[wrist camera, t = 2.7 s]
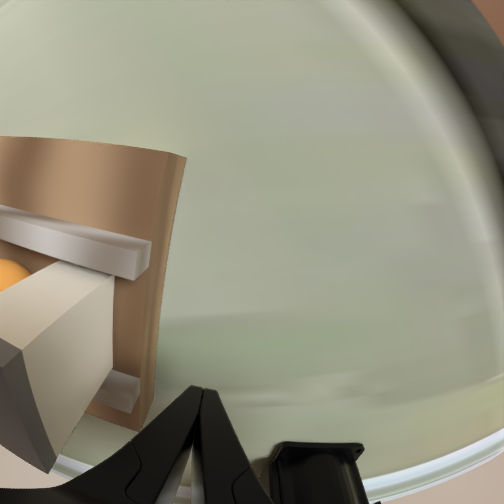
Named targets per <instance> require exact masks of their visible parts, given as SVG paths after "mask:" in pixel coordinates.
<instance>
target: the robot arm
mask: <svg viewBox="0 0 504 504" xmlns="http://www.w3.org/2000/svg"><path fill="white" fill-rule="evenodd" d="M202 394H203V395H202ZM201 399H202V400H201ZM200 404H201V405H200ZM199 409H200V410H199ZM198 414H199V415H198ZM197 419H198V420H197ZM194 435H195V436H194ZM193 440H194V441H193ZM192 445H193V447H192ZM191 449H192V468H191V504H369V502H368V498H367V495H366V492H365V489H364V486H363V483H362V480H361V477H360V473H359V470H358V467H357V464H356V460H357V459H358V458H359V456H360V455H361V454H362V453H363V451H364V450H365V449H364V446H363V444H310V443H291V442H287V443H283V444H282V445H281V446H280V447H279V449H278V451H277V453H276V455H275V457H274V459H273V460H272V461H271V462H269V463H268V464H267V466H266V468H265V470H264V471H263V473H262V475H261V477H260V481H259V480H258V478H257V476H256V474H255V472H254V470H253V468H252V467H251V464H250V462H249V460H248V458H247V456H246V454H245V452H244V450H243V448H242V446H241V444H240V442H239V439H238V437H237V435H236V433H235V431H234V429H233V426H232V424H231V422H230V420H229V418H228V415H227V413H226V411H225V408H224V406H223V404H222V402H221V399H220V397H219V394H218V392H217V391H216V390H212V389H208V388H205V389H204V390H203V388H202V387H199V386H194V385H191V386H189V387H188V388H187V389H186V390H185V391H184V392H183V393H182V394H181V395H180V396H179V397H178V398H176V399H175V400H174V401H173V402H172V403H171V404H170V405H169V406H168V407H167V408H166V409H165V410H164V411H162V412H161V413H160V414H159V415H158V416H157V417H156V418H155V419H154V420H153V421H152V422H150V423H149V424H148V425H147V426H146V427H145V428H144V429H143V430H142V431H140V432H139V433H138V434H137V435H136V436H135V437H134V438H132V439H131V441H129V442H128V443H127V444H125V445H124V446H123V447H122V448H121V449H120V450H118V451H117V452H116V453H114V454H113V455H112V456H111V457H109V458H108V459H106V460H104V461H103V462H101V463H100V464H98V465H97V466H95V467H93V468H92V469H90V470H88V471H86V472H85V473H83V474H81V475H79V476H78V477H76V478H74V479H72V480H70V481H69V482H67V483H65V484H62V485H59V486H56V487H51V488H37V489H10V488H0V504H172V503H173V500H174V497H175V495H176V492H177V489H178V486H179V483H180V481H181V478H182V475H183V472H184V469H185V467H186V464H187V461H188V458H189V455H190V452H191ZM374 504H381V502H380V501H379V502H376V503H374Z"/></svg>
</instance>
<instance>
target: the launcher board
mask: <svg viewBox="0 0 504 504" xmlns="http://www.w3.org/2000/svg"><path fill="white" fill-rule="evenodd" d="M186 159H187V158H185V157H182V156H179V155H176V154H173V153H169V152H164V151H158V150H151V149H145V148H138V147H131V146H123V145H115V144H107V143H98V142H89V141H78V140H67V139H53V138H37V137H10V136H0V259H8V260H12V261H15V262H17V263H19V264H20V265H22V266H23V267H25V268H26V269H27V270H28V271H29V272H30V273H31V275H32V274H34V273H36V272H38V271H40V270H42V269H44V268H46V267H47V266H49V265H51V264H53V263H55V262H57V261H59V260H65V261H68V262H71V263H74V264H77V265H81V266H84V267H87V268H91V269H94V270H98V271H101V272H105V273H108V274H112V275H115V279H114V296H113V333H112V343H113V368H112V369H111V371H110V372H109V374H108V375H107V377H106V379H105V380H104V382H103V383H102V385H101V386H100V388H99V389H98V391H97V393H96V394H95V396H94V397H93V399H92V401H91V402H90V404H89V405H88V407H87V409H86V410H85V412H86V413H88V414H91V415H93V416H96V417H98V418H101V419H104V420H106V421H109V422H112V423H114V424H117V425H120V426H123V427H126V428H129V429H132V430H135V431H138V432H140V431H141V429H142V426H143V424H144V421H145V419H146V416H147V413H148V411H149V408H150V406H151V403H152V401H153V394H154V377H155V363H156V350H157V339H158V329H159V320H160V311H161V302H162V294H163V286H164V279H165V272H166V265H167V259H168V252H169V246H170V240H171V234H172V228H173V223H174V217H175V212H176V206H177V201H178V196H179V191H180V186H181V182H182V177H183V172H184V168H185V163H186Z"/></svg>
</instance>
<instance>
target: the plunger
mask: <svg viewBox="0 0 504 504" xmlns="http://www.w3.org/2000/svg"><path fill="white" fill-rule="evenodd" d="M114 279H115V275H112V274H108V273H105V272H101V271H98V270H94V269H91V268H87V267H84V266H81V265H77V264H74V263H71V262H68V261H65V260H59V261H57V262H55V263H53V264H51V265H49V266H47V267H46V268H44V269H42V270H40V271H38V272H36V273H34V274H32V275H30V276H29V277H27V278H25V279H23V280H21V281H19V282H18V283H16V284H14V285H12V286H10V287H9V288H7V289H5V290H3V291H2V292H0V444H1V445H2V446H3V447H5V448H6V449H8V450H9V451H11V452H12V453H14V454H15V455H17V456H18V457H20V458H21V459H23V460H24V461H26V462H28V463H29V464H31V465H33V466H34V467H36V468H38V469H40V470H41V471H43V472H45V473H47V474H48V473H49V472H50V470H51V468H52V466H53V464H54V463H55V461H56V459H57V457H58V456H59V454H60V452H61V450H62V449H63V447H64V445H65V443H66V442H67V440H68V438H69V437H70V435H71V433H72V432H73V430H74V428H75V427H76V425H77V423H78V422H79V420H80V418H81V417H82V415H83V413H84V412H85V410H86V409H87V407H88V405H89V404H90V402H91V401H92V399H93V397H94V396H95V394H96V393H97V391H98V389H99V388H100V386H101V385H102V383H103V382H104V380H105V379H106V377H107V375H108V374H109V372H110V371H111V369H112V368H113V343H112V333H113V296H114Z"/></svg>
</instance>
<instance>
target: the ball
mask: <svg viewBox="0 0 504 504" xmlns="http://www.w3.org/2000/svg"><path fill="white" fill-rule="evenodd" d="M30 275H31V273H30V272H29V271H28V270H27V269H26V268H25V267H23V266H22V265H20V264H19V263H17V262H15V261H12V260H8V259H0V292H2V291H3V290H5V289H7V288H9V287H10V286H12V285H14V284H16V283H18V282H19V281H21V280H23V279H25V278H27V277H29V276H30Z"/></svg>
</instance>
